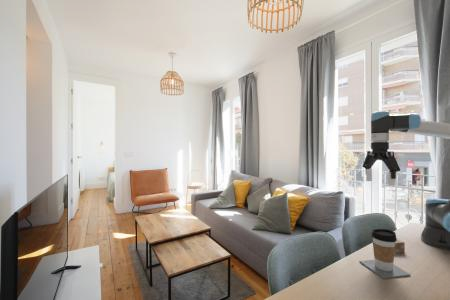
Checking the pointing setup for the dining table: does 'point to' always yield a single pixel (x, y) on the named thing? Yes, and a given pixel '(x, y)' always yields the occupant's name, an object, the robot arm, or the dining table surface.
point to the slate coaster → (385, 274)
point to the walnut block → (399, 246)
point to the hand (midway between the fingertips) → (379, 183)
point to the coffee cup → (384, 248)
